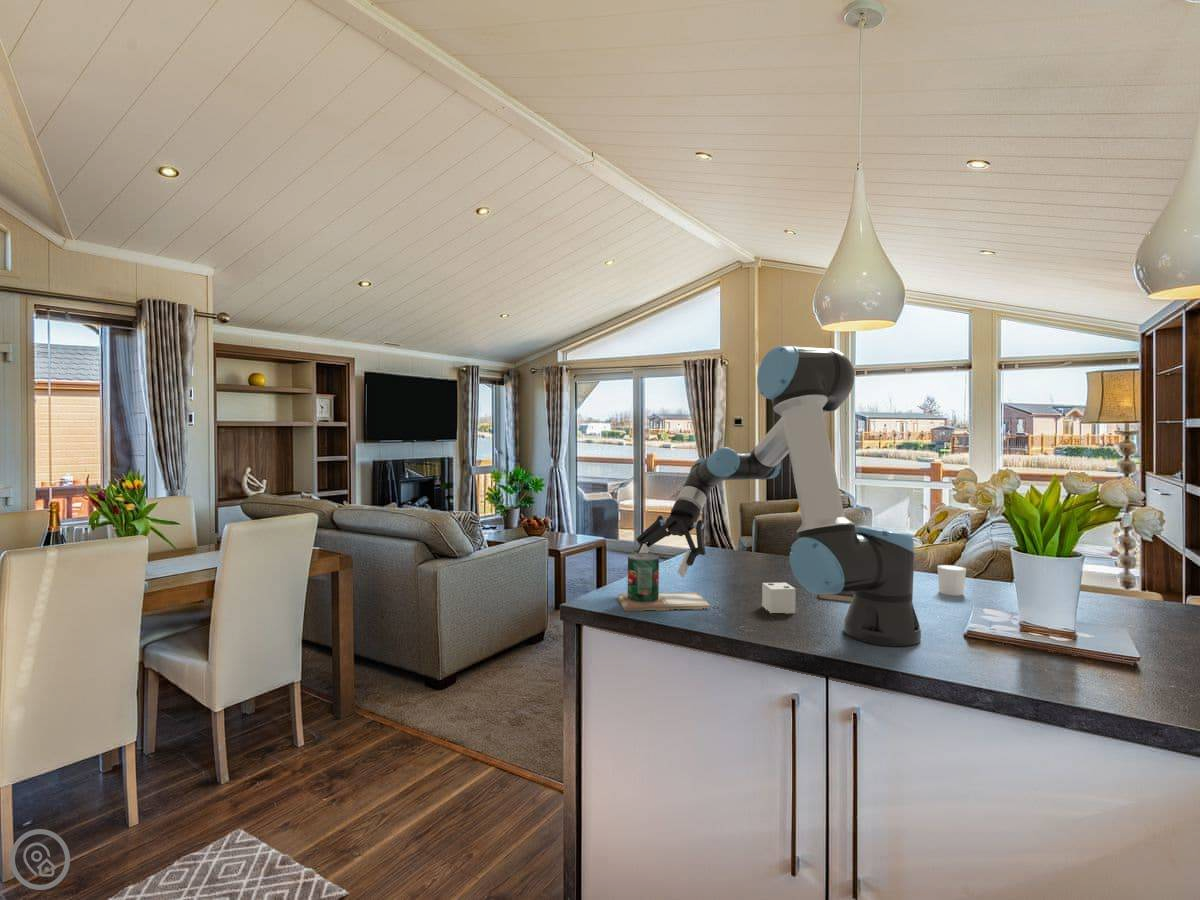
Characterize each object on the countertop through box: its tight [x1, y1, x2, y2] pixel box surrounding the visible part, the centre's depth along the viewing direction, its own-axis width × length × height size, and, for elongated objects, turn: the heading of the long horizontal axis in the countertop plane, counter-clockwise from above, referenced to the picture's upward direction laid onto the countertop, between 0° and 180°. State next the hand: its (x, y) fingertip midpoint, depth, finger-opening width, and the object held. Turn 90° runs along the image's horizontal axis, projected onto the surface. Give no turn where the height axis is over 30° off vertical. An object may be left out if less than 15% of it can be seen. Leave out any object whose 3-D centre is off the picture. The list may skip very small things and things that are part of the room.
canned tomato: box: [627, 552, 660, 604], centre depth 160 cm, size 8×8×11 cm
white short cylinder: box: [937, 564, 967, 597], centre depth 173 cm, size 7×7×7 cm
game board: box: [617, 591, 711, 612], centre depth 161 cm, size 12×21×1 cm, turn 96°
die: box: [761, 582, 797, 614], centre depth 156 cm, size 6×6×6 cm
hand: (658, 570), depth 166 cm, fingers open, 13 cm apart
